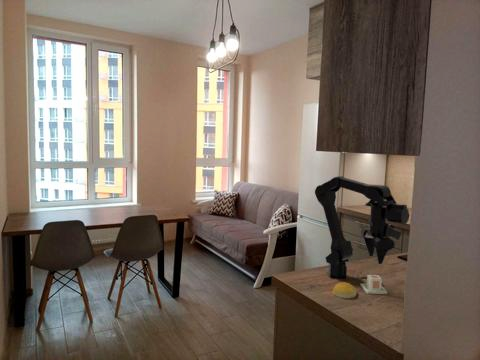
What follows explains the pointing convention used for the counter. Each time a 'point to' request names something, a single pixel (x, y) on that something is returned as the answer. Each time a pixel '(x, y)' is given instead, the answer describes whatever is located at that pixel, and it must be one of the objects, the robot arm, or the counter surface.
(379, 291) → the green tray
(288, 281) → the counter surface
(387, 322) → the counter surface
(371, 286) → the letter block
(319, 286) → the counter surface
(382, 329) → the counter surface
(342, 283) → the bread roll
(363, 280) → the walnut tray
